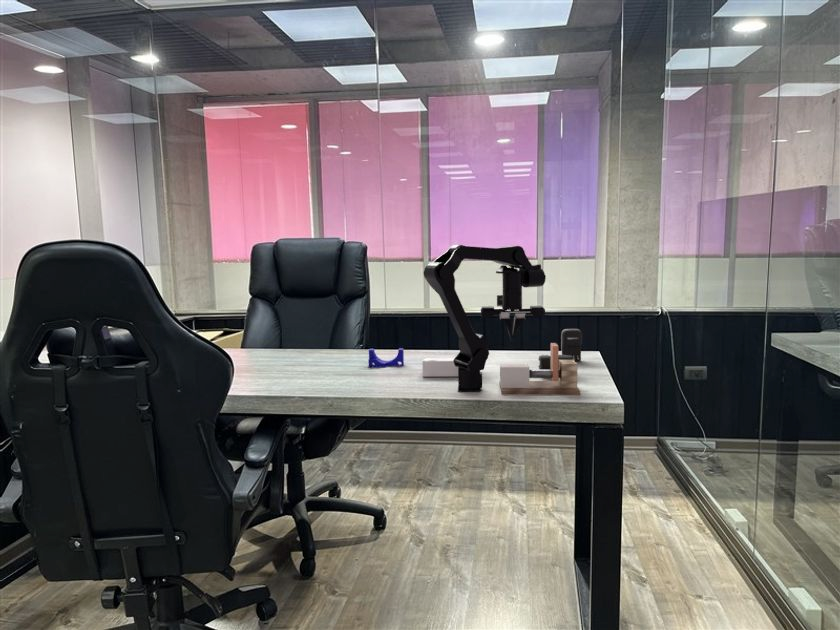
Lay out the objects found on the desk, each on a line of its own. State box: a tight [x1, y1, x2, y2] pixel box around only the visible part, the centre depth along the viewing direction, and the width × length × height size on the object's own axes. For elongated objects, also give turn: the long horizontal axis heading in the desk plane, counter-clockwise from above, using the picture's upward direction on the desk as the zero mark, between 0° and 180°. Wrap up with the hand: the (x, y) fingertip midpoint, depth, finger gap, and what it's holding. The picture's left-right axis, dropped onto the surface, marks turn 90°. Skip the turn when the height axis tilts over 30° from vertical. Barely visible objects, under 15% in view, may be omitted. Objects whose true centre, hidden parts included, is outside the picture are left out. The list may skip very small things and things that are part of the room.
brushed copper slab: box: [529, 342, 561, 381], centre depth 162 cm, size 13×5×10 cm, turn 85°
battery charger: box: [560, 328, 583, 362], centre depth 200 cm, size 7×4×11 cm, turn 84°
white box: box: [421, 357, 458, 377], centre depth 185 cm, size 18×10×10 cm, turn 85°
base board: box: [499, 380, 581, 396], centre depth 163 cm, size 22×12×1 cm, turn 85°
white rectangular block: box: [499, 363, 530, 388], centre depth 163 cm, size 8×5×6 cm, turn 85°
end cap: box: [538, 354, 573, 370], centre depth 179 cm, size 10×7×7 cm
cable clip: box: [367, 347, 405, 368], centre depth 200 cm, size 12×4×6 cm, turn 87°
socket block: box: [558, 360, 578, 388], centre depth 162 cm, size 4×6×7 cm
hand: (512, 340), depth 170 cm, fingers closed
